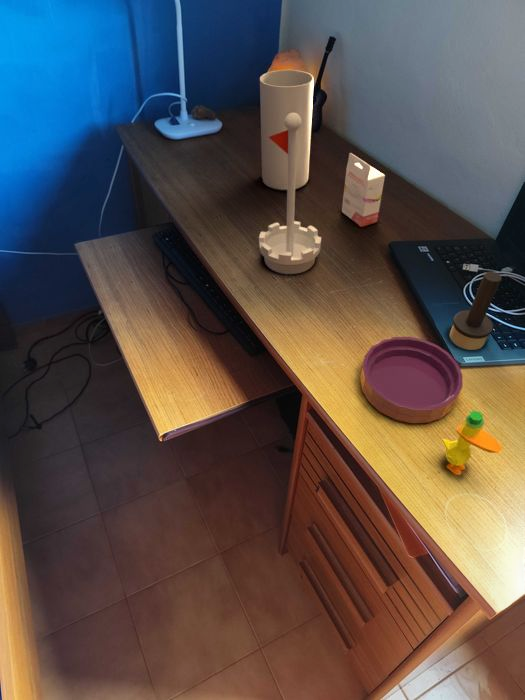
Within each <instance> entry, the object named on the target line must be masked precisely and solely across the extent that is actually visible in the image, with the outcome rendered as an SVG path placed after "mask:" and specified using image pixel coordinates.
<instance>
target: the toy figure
mask: <svg viewBox="0 0 525 700" xmlns="http://www.w3.org/2000/svg"><path fill="white" fill-rule="evenodd" d="M484 425H485V419H484V415H483V414H482V412H480V411H478V410H472V411H470V412H469V414H468V415H467V416H466V417H465V420H464V422H463V423H461V424H460V425H459V426H458V427H457V429H456V430H455V432H456V433H457V434H458V437H457V439H455V440H453V441H452V440H449V439H446V438H441V439H442V442H443V444H444V447H445V457H446V461H448V464H447V465H446V468H447V469H448V470H449V471H450V472H451V473H452V474H454V475H457V476H460V475H461V474H462V471H464V470H465V469H466V466H465V465H464V464H467V463H468V462H469V460H470V459H471V457H472V448H471V447H470V446H474V447H476V448H478V449H480V450H481V451H484V452H487V453H491V454H492V453H493V454H496V453H497V454H499V453H501V451H502V449H503V447H502V446H501V445H500V443H499V442H498V441H497V439H495V438H494V437H493V436H492V435H491V434H489V433H488V432H486V431H485V430H484V429H483V426H484Z"/></svg>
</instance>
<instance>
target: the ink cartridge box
mask: <svg viewBox="0 0 525 700" xmlns="http://www.w3.org/2000/svg"><path fill="white" fill-rule="evenodd" d="M385 178H386V175H385V174H384V173H382V172H380V171H379V170H377V169H376V168H375V167H373V166H371V165H370V164H368V163H367V162H366V161H364V160H362V159H361V158H359V157H358V156H357V155H355V154H353V153H352V152H349V154H348V159H347V165H346V170H345V179H344V186H343V187H344V188H343V197H342V205H341V206H342V207H341V212H342V214H344V215H345V216H346V217H348V218H349V219H350V220H352V221H353V222H354V223H356V225H358V226H359V227H361V228H363V227H366V226H369V225H372V224H375V223H378V219H379V213H380V208H381V202H382V195H383V189H384V183H385Z"/></svg>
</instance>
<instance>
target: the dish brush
mask: <svg viewBox="0 0 525 700" xmlns="http://www.w3.org/2000/svg"><path fill="white" fill-rule="evenodd" d="M501 281H502V275H501V274H499V273H498V272H495V271H485V272H484V274H483V276H482V279H481V281H480V284H479V286H478V289H477V291H476V294H475V296H474V299H473V302H472V303H471V306H470V309H469V310H461V311H459V312H458V313H456V314H455V315H454V318H453V321H452V327H451V329H450V331H449V338H450V341H451V342H452V343H453V344H454V345H455V346H457V347H459V348H461V349H464V350H467V351H475V350H476V351H477V350H479V349H481V348H482V347H484V346H485V343H486V342H487V340H488V337H489V336H490V335H491V334H492V331H493V329H494V324H493V322H492V320H491V319H490V318H489V317H488V316H487V313H488V310H489V308H490V306H491V304H492V301H493V299H494V297H495V295H496V293H497V290H498V288H499V286H500V284H501Z"/></svg>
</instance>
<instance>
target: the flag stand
mask: <svg viewBox="0 0 525 700" xmlns="http://www.w3.org/2000/svg"><path fill="white" fill-rule="evenodd" d="M284 123H285V127H286V128H287V129H288V130H286V131H284V132H281V133H278V134H275V135H272V136H270V137H269V138H270V139H271V140H272V141H273V142H274V143H276V144H277V145H278V146H279V147H280V148H281V149H282V150H284V151H285V152H286V153H287V154H288V179H287V190H286V225H280V223H279V222H278V221H277V222H274V223H272V224H269V225H268V226H267V231H260V233H259V236H258V247H259V252H260V254H261V256H263V257H264V263H265V265H266V266H267V267H268V268H269V269H270V270H272V271H273V272H276V273H279V274H284V275H295V274H300V273H304V272H306V271H308V270H310V269H311V268H312V267H313V266H314V264H315V260H316V257H318V255H319V254H320V252H321V246H322V236H319V230H318V229H317V228H316V227H314V226H313V225H308V226H307V227H305V226H304V227H303V226H301V225H302V223H301V221H296V220H295V204H296V189H295V178H296V146H297V130H298V129H299V128H300V126H301V118H300V116H299V115H298V114H297V113H290V114H288V115H287V116H286V118H285V122H284Z"/></svg>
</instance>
